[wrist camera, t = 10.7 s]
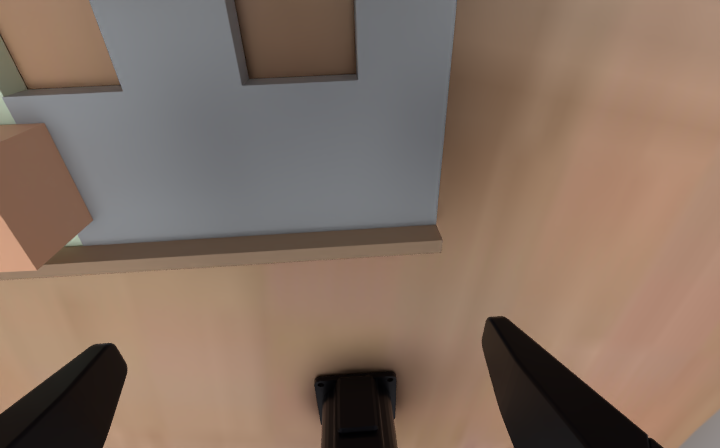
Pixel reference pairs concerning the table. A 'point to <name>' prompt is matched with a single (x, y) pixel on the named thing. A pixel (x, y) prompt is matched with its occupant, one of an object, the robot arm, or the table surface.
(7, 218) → the terracotta block
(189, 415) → the table surface
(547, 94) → the table surface
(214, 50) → the box
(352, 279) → the table surface
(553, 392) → the robot arm
